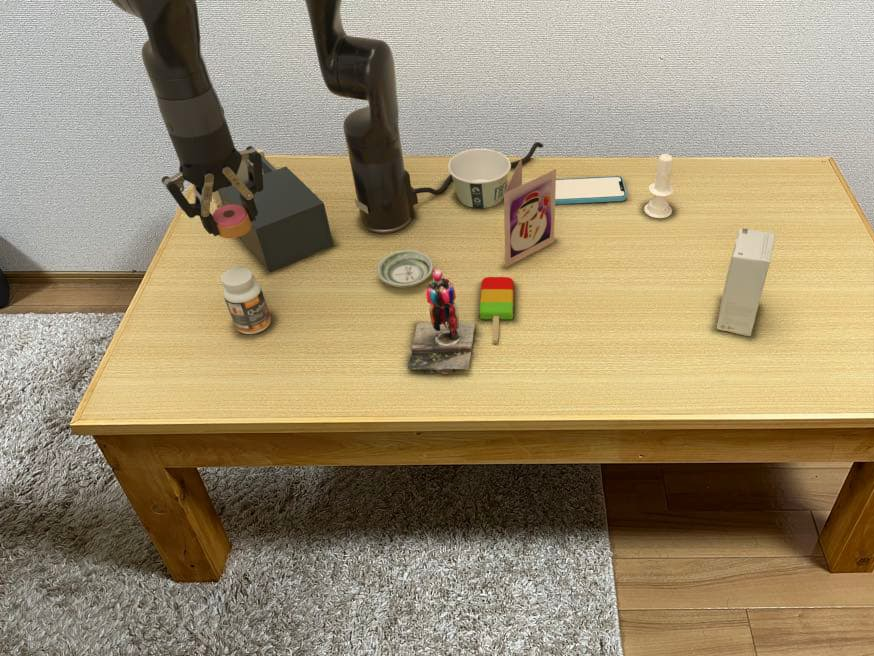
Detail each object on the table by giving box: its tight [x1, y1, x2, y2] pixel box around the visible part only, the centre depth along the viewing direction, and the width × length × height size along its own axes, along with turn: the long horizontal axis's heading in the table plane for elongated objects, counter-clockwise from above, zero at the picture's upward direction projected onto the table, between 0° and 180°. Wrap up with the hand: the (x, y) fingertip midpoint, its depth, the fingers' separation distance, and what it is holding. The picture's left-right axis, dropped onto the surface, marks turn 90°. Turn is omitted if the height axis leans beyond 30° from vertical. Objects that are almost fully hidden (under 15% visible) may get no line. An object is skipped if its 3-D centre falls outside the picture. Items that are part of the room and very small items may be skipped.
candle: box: [643, 153, 675, 219], centre depth 143 cm, size 5×5×12 cm
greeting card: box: [503, 157, 557, 268], centre depth 134 cm, size 11×7×15 cm, turn 131°
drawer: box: [212, 148, 277, 206], centre depth 144 cm, size 18×11×7 cm, turn 38°
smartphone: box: [555, 175, 627, 205], centre depth 151 cm, size 8×1×15 cm
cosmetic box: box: [716, 227, 776, 337], centre depth 122 cm, size 8×6×15 cm
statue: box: [406, 268, 476, 375], centre depth 117 cm, size 11×9×15 cm
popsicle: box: [478, 276, 515, 342], centre depth 127 cm, size 6×15×2 cm, turn 0°
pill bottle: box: [220, 266, 272, 335], centre depth 121 cm, size 6×6×10 cm
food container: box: [447, 148, 512, 209], centre depth 148 cm, size 12×12×6 cm
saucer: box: [376, 249, 434, 289], centre depth 133 cm, size 10×10×2 cm
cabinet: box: [220, 166, 335, 273], centre depth 137 cm, size 15×13×9 cm
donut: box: [212, 205, 252, 239], centre depth 114 cm, size 5×5×3 cm
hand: (232, 225), depth 115 cm, fingers closed on donut, 5 cm apart
